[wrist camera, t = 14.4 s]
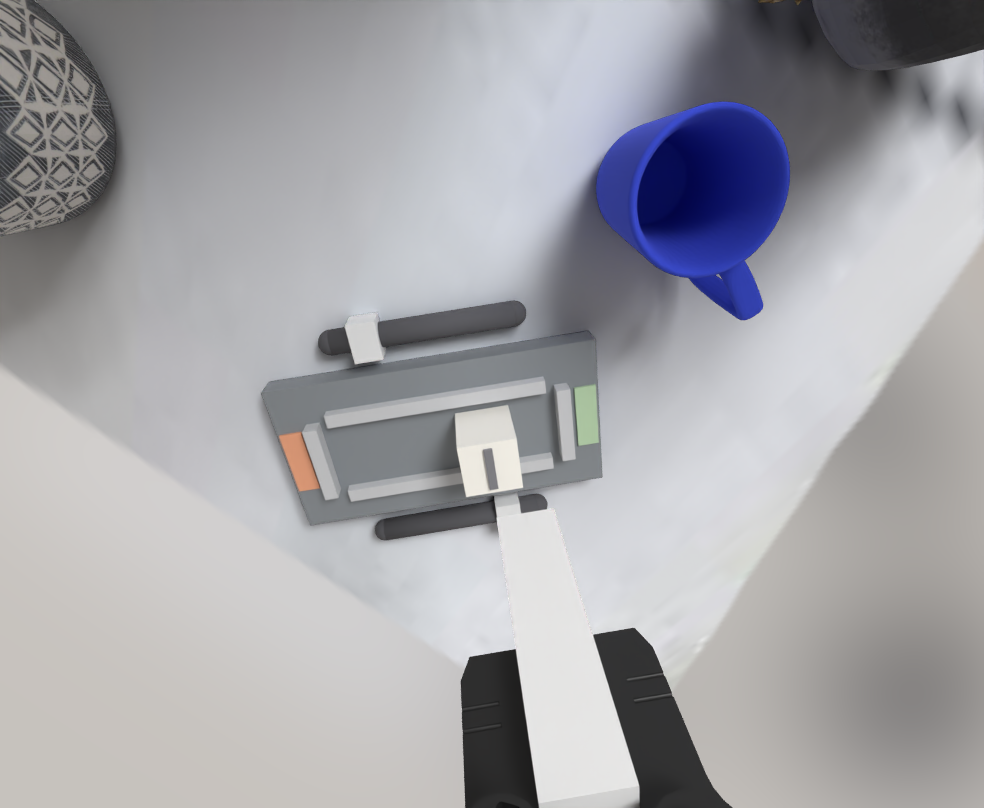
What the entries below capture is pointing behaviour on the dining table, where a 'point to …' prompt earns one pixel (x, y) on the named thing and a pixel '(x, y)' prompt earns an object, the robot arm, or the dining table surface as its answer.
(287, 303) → the dining table surface
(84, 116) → the planter
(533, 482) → the panel
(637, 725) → the robot arm
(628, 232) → the mug
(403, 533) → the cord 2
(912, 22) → the pitcher
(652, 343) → the dining table surface
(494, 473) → the toggle
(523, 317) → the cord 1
